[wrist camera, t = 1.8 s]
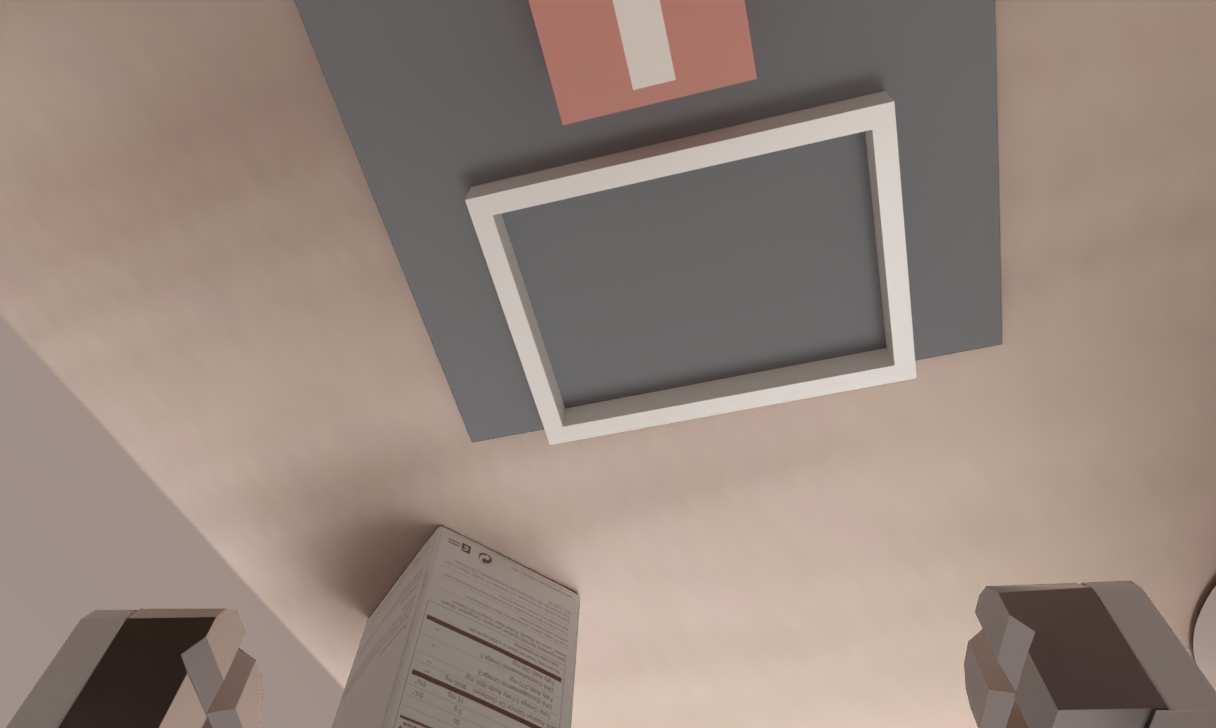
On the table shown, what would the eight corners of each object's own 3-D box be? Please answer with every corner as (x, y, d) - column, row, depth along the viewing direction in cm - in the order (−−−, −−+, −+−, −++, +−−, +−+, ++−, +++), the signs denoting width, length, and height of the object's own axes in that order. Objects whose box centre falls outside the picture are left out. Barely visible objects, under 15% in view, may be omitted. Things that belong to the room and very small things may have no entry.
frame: (884, 91, 27) (894, 101, 26) (907, 360, 32) (916, 378, 31) (471, 186, 29) (464, 199, 28) (552, 426, 34) (549, 445, 33)
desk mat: (979, -449, 21) (984, -454, 21) (998, 338, 32) (1002, 344, 32) (217, -206, 24) (211, -207, 24) (473, 436, 35) (472, 442, 35)
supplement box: (502, 681, 42) (454, 972, 32) (364, 617, 40) (263, 904, 30) (587, 593, 39) (566, 883, 28) (441, 518, 37) (359, 800, 26)
